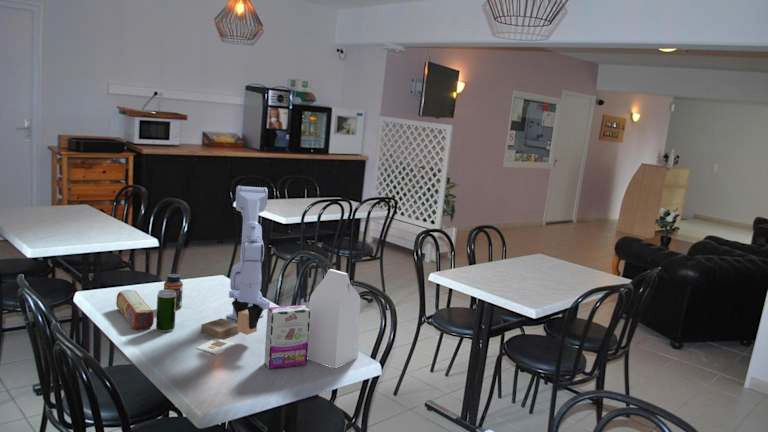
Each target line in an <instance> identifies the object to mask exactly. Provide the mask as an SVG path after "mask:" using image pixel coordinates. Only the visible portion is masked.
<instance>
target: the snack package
mask: <svg viewBox="0 0 768 432" xmlns="http://www.w3.org/2000/svg"><path fill="white" fill-rule="evenodd" d="M115 303H116V308H117V309H118V310H119V311H120V312H121V314H122V315H123V316H124V318H126V320H127V321H128V322H129V324H130V325H131V327H132V328H133V329H134V330H135V331H141V330H148V329H151V328H152V327H153V326H154V321H155V319H154V318H155V314H154V310H152V308H151V307H150V306H149V305H148V304H147V302H145V300H143V298H142V297H141V295H140V294H139V293H138V292H137V291H136V290H135V289H124V290H123V289H122V290H120V291H119V292H118V293H117V295H116V302H115Z"/></svg>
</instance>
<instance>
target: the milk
mask: <svg viewBox="0 0 768 432" xmlns="http://www.w3.org/2000/svg"><path fill="white" fill-rule="evenodd" d="M350 281H351V280H350V278H349V274H348V273H347V272H343V271H340V270H336V269H333V268H330V269H328V270H327V272H326V273H325V276H324V278H323V279H322V280H321V281H320V283H318V285H317V286H316V288H315V289H314V290H313V292H312V293H311V295H310V297H309V303H308V308H309V309H310V325H309V337H308V352H307V358H308V359H307V360H309V359H310V360H309V361H311V360H313V361H312V362H314V361H316V362H315V363H317V362H319V363H322V364H325V365H328V366H331V367H333V368H336V367H338V366H340V365H342V364H344V363H346V364H348V363H350V362H352V361H353V359H354V360H356V359H358V358H359V343H360V342H359V341H360V320H361V295H360V293H358V291H357V290H356V289H355V287H354V286H353V285H352V284H351V282H350ZM357 357H358V358H357ZM355 358H356V359H355ZM351 360H352V361H351ZM349 361H350V362H349ZM347 362H348V363H347ZM319 363H318V364H319ZM322 364H321V365H322ZM325 365H324V366H325ZM344 365H345V364H344ZM342 366H343V365H342ZM333 368H332V369H333Z"/></svg>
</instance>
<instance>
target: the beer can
mask: <svg viewBox="0 0 768 432" xmlns="http://www.w3.org/2000/svg"><path fill="white" fill-rule="evenodd" d="M156 297H157V298H156V315H155V316H156V319H155V320H156V321H155V328H156V330H157V332H159V333H170V332H172V331H174V329H175V326H176V292H175V291H174V290H170V289H164V288H163V289H160V290H158V292H157V296H156Z"/></svg>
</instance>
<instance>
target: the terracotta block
mask: <svg viewBox="0 0 768 432" xmlns="http://www.w3.org/2000/svg"><path fill="white" fill-rule="evenodd" d="M236 324H237V331H238V332H239V333H241V334H243V335H246V336H247V335H250V334H253V333H256V332H257V329H258V327H257V326H258V325H257V326H256V328H254V329H250V328H249V313H248V309H246V310H243V311H240V312H238V320H237V323H236Z"/></svg>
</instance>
